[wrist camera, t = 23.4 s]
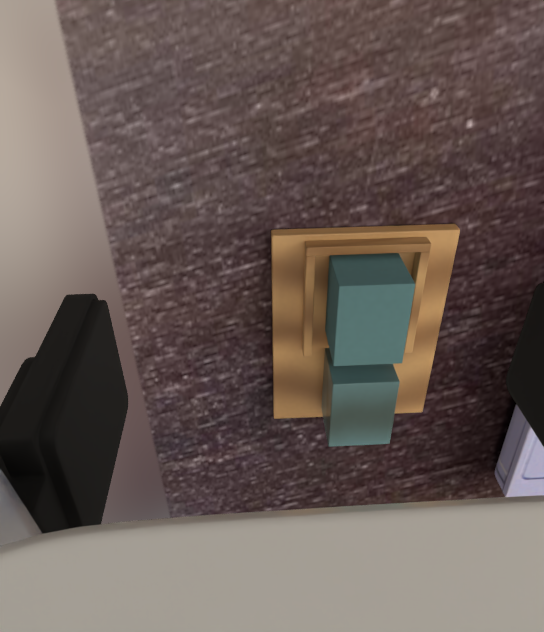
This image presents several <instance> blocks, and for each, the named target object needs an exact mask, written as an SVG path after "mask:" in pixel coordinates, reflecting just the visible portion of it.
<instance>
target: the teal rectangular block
mask: <svg viewBox="0 0 544 632" xmlns="http://www.w3.org/2000/svg"><path fill="white" fill-rule="evenodd" d="M414 289H415V282H414V281H413V279H412V277H411V275H410V273H409V271H408V270H407V268H406V266H405V264H404V262H403V261H402V259H401V257H400V255H399V253H382V254H352V255H330V256H329V271H328V289H327V307H326V325H325V332H326V336H327V340H328V345H329V349H330V353H331V358H332V362H333V366H350V365H374V364H398V363H402V361H403V355H404V349H405V343H406V337H407V331H408V325H409V319H410V313H411V307H412V301H413V295H414Z"/></svg>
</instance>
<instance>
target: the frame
mask: <svg viewBox="0 0 544 632" xmlns="http://www.w3.org/2000/svg"><path fill="white" fill-rule="evenodd" d="M459 233H460V229H459V228H458V227H457V226H456V224H433V225H402V226H371V227H340V228H308V229H277V230H271V279H272V349H273V412H274V419H279V418H302V417H323V419H324V425H325V430H326V436H327V441H328V446H350V445H372V444H389V443H390V438H391V432H392V426H393V420H394V414H395V413H414V412H422V411H423V406H424V401H425V397H426V392H427V387H428V382H429V377H430V373H431V368H432V363H433V358H434V353H435V348H436V344H437V339H438V334H439V329H440V324H441V320H442V315H443V310H444V305H445V300H446V296H447V291H448V286H449V281H450V276H451V272H452V267H453V262H454V257H455V252H456V247H457V243H458V238H459ZM382 253H399V255H400V257H401V259H402V261H403V262H404V264H405V266H406V268H407V270H408V271H409V273H410V275H411V277H412V279H413V281H414V282H415V289H414V295H413V301H412V307H411V313H410V319H409V325H408V331H407V337H406V343H405V349H404V355H403V361H402V363H398V364H374V365H350V366H333V362H332V358H331V353H330V349H329V345H328V340H327V336H326V332H325V325H326V307H327V289H328V271H329V256H330V255H352V254H382Z"/></svg>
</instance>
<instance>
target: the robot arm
mask: <svg viewBox="0 0 544 632" xmlns="http://www.w3.org/2000/svg"><path fill="white" fill-rule="evenodd" d="M506 385H507V389H508V391H509V393H510V395H511V396H512V398H513V399H514V401H515V403H516V404H517V406H518V407H519V409H520V410H521V412H522V414H523V415H524V417H525V418H526V420H527V422H528V423H529V425H530V426H531V428H532V429H533V431H534V433H535V434H536V436H537V437H538V439H539V441H540V442H541V444H542V445H543V447H544V282H543V283H541V284H539V285H538V286H537V287H536V289H535V292H534V295H533V298H532V301H531V304H530V307H529V310H528V313H527V316H526V319H525V322H524V325H523V328H522V331H521V334H520V337H519V340H518V343H517V346H516V349H515V352H514V355H513V358H512V361H511V364H510V367H509V370H508V373H507V377H506ZM127 409H128V395H127V389H126V385H125V380H124V376H123V371H122V367H121V363H120V358H119V354H118V349H117V345H116V340H115V336H114V331H113V327H112V322H111V318H110V314H109V309H108V305H107V302H106V301H105V300H98V298H97V296H96V295H95V294H75V295H66V297H65V298H64V300H63V302H62V304H61V306H60V308H59V310H58V312H57V314H56V316H55V318H54V320H53V322H52V324H51V326H50V328H49V331H48V332H47V334H46V336H45V338H44V340H43V343H42V344H41V346H40V348H39V351H38V353H37V354H36V356H35V357H30V358H28V359H26V360H25V361H24V363H23V364H22V365H21V368H20V369H19V371H18V373H17V375H16V377H15V379H14V381H13V383H12V385H11V387H10V389H9V390H8V393H7V395H6V396H5V398H4V400H3V402H2V404H1V406H0V632H544V495H538V496H519V497H500V498H482V499H464V500H446V501H429V502H411V503H394V504H377V505H360V506H343V507H327V508H311V509H295V510H279V511H263V512H248V513H232V514H216V515H202V516H189V517H176V518H165V519H151V520H138V521H126V522H116V523H108V524H101V521H102V516H103V512H104V508H105V504H106V500H107V495H108V491H109V487H110V483H111V478H112V474H113V470H114V465H115V461H116V457H117V452H118V448H119V444H120V440H121V435H122V431H123V427H124V423H125V418H126V414H127Z"/></svg>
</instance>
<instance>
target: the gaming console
mask: <svg viewBox="0 0 544 632" xmlns="http://www.w3.org/2000/svg"><path fill="white" fill-rule="evenodd" d="M495 476H496V479H497V481H498V483H499V485H500V487H501V489H502V491H503V493H504V495H505V497H519V496H538V495H544V447H543V445H542V444H541V442H540V441H539V439H538V437H537V436H536V434H535V433H534V431H533V429H532V428H531V426H530V425H529V423H528V422H527V420H526V418H525V417H524V415H523V414H522V412H521V410H520V409H519V407H518V406H517V404H516V406H515V409H514V412H513V415H512V418H511V421H510V425H509V428H508V431H507V434H506V437H505V440H504V443H503V446H502V450H501V453H500V456H499V459H498V462H497V465H496V468H495Z"/></svg>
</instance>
